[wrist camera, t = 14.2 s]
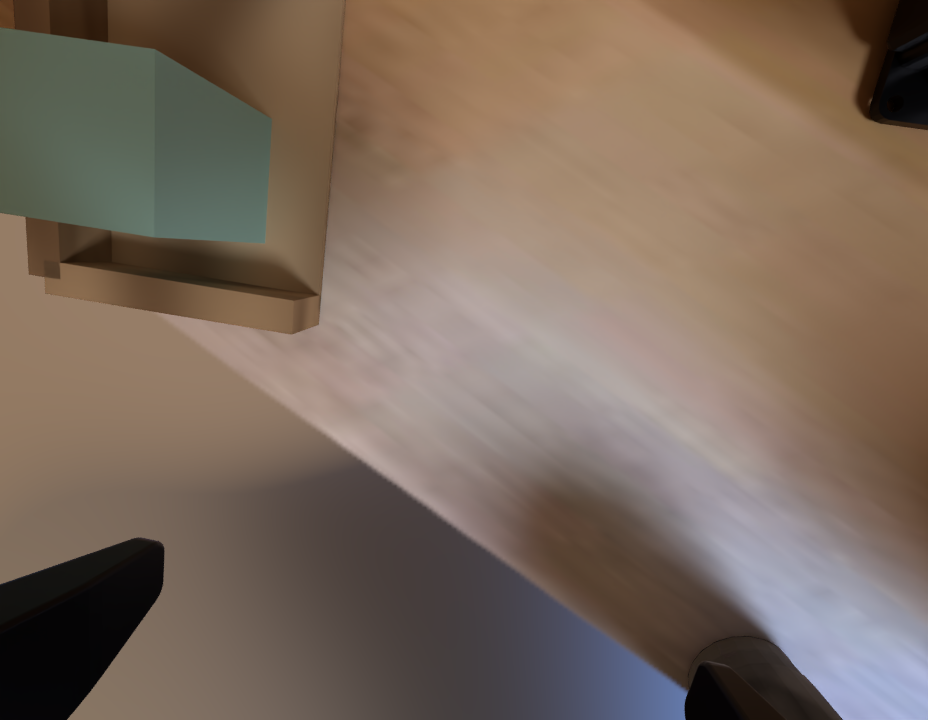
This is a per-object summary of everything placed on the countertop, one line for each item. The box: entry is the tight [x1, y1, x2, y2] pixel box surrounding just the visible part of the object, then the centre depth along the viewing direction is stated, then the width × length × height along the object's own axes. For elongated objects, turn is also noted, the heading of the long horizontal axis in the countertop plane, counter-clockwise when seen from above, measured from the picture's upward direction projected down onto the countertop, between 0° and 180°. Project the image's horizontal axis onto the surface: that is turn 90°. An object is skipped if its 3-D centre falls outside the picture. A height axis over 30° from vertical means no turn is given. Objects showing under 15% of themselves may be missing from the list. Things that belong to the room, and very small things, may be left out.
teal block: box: [0, 27, 272, 244], centre depth 15 cm, size 4×4×6 cm
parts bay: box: [14, 0, 345, 334], centre depth 16 cm, size 10×20×2 cm, turn 171°
